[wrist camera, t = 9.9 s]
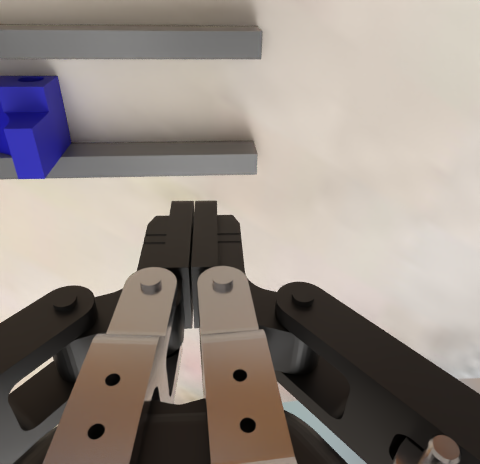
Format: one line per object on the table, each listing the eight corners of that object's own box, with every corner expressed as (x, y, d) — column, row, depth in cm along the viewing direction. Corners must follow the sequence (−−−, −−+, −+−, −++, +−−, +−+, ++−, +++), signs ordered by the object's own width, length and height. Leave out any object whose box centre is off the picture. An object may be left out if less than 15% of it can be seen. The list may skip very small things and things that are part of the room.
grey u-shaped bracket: (-224, 21, 24) (-315, 33, 20) (257, 25, 26) (268, 36, 22) (-146, 167, 29) (-206, 201, 25) (252, 160, 31) (260, 191, 27)
